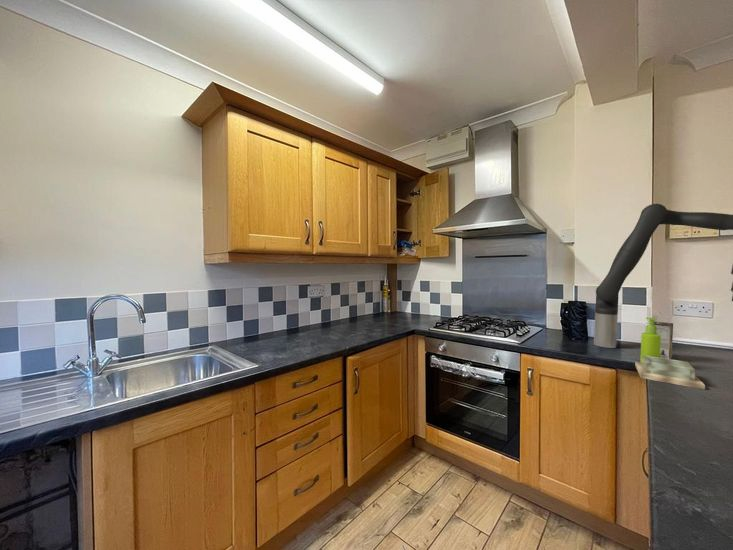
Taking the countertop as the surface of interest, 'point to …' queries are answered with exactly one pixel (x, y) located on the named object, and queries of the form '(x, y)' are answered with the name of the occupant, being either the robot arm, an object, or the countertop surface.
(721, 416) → the countertop surface
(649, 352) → the soap dispenser
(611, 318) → the robot arm
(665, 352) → the coffee box
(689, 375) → the dispenser caddy
